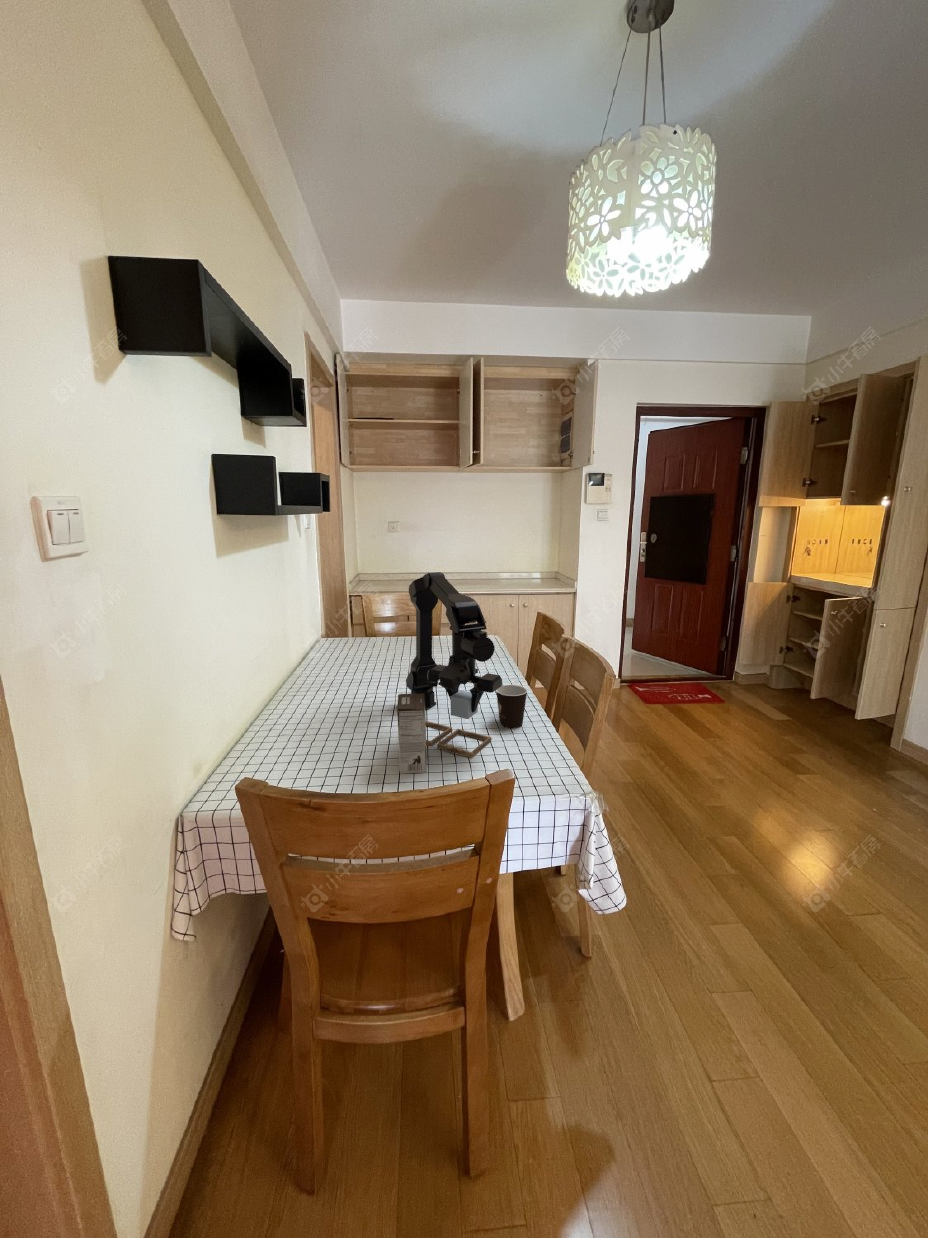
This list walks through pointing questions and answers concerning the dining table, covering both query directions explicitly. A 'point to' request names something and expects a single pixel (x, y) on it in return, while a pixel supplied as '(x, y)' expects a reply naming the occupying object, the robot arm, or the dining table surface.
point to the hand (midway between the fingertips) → (464, 710)
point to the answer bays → (448, 730)
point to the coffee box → (412, 733)
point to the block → (462, 705)
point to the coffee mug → (511, 705)
